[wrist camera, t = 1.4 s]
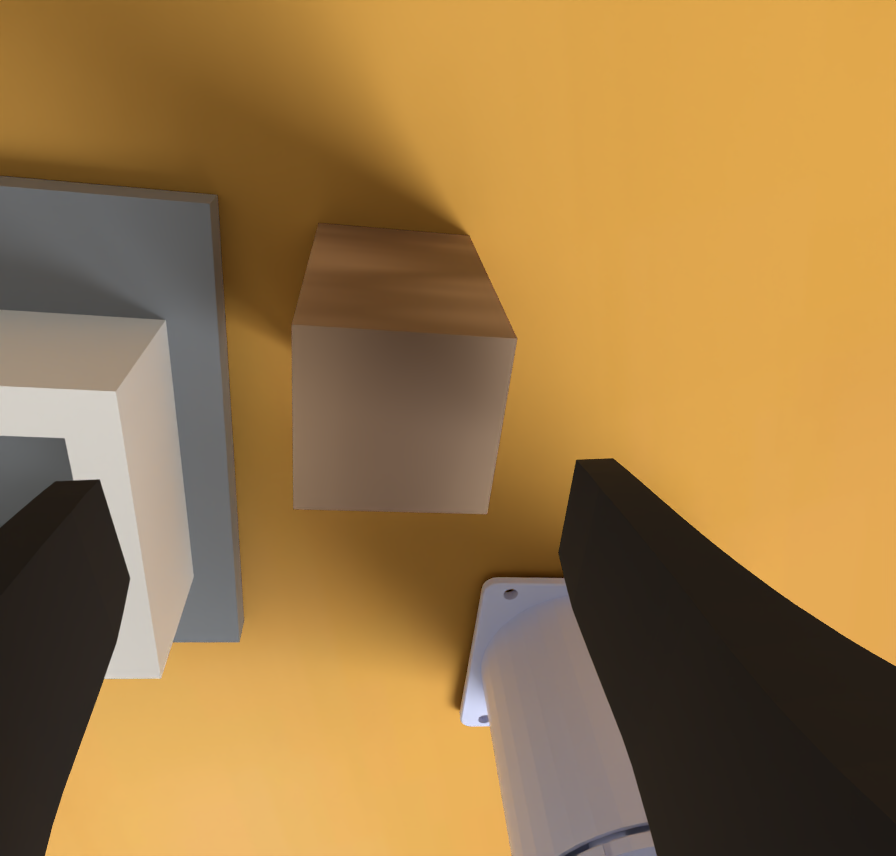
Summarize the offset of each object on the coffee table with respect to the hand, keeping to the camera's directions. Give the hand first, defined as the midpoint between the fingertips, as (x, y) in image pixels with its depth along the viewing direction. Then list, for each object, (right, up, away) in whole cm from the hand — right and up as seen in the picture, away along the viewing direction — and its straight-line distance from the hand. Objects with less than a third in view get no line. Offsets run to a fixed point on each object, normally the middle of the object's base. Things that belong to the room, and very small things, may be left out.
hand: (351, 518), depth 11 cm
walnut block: (0, +5, +8) cm, 10 cm away
